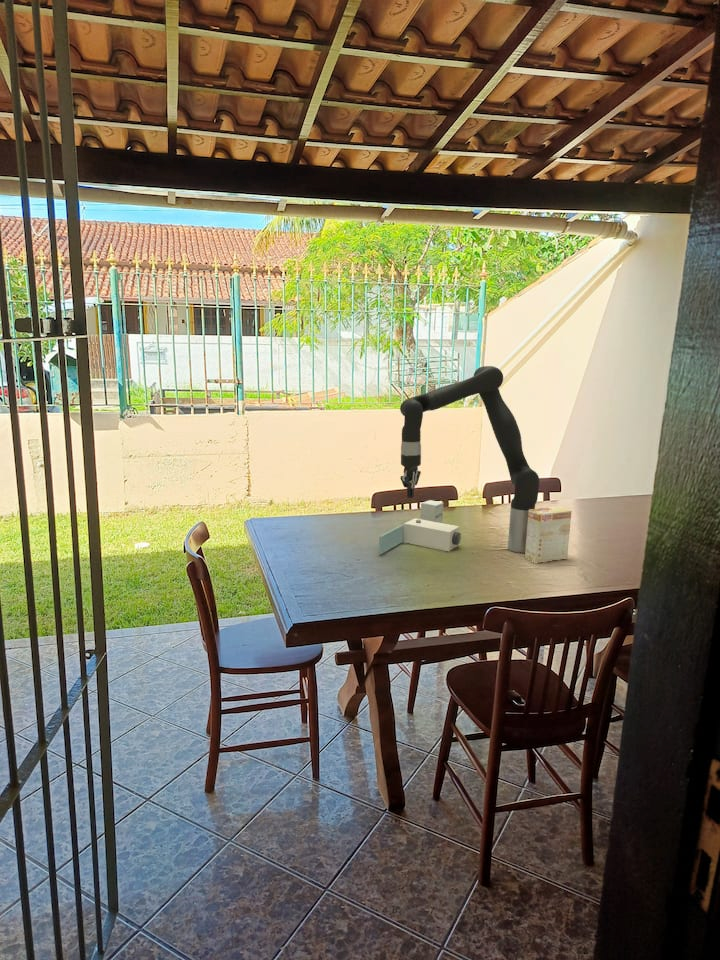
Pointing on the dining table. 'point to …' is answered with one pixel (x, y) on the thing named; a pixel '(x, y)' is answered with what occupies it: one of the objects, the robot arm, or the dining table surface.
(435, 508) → the supplement box
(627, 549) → the dining table surface
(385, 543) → the door
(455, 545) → the camera housing
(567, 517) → the coffeecake box
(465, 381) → the robot arm
